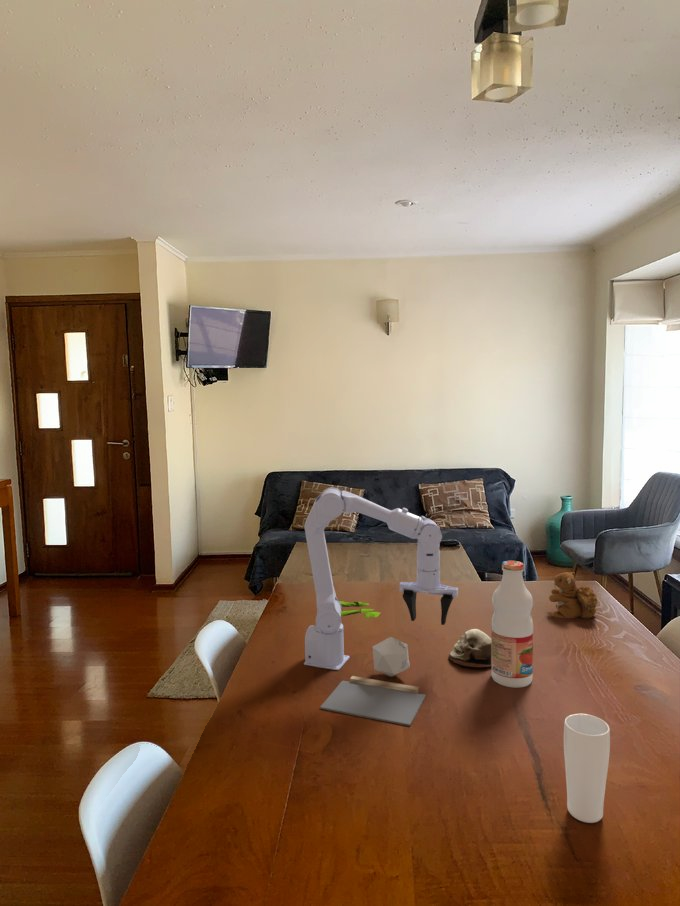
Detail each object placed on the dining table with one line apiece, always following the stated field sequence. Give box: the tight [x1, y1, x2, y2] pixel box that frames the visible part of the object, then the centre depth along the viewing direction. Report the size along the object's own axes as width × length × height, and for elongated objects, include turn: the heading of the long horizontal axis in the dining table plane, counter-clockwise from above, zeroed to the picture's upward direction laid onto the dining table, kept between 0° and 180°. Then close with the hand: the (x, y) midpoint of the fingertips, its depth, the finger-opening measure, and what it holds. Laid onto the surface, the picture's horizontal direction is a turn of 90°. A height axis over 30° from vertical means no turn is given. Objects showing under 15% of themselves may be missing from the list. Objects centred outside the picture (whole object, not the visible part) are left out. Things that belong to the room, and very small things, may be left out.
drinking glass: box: [563, 713, 611, 824], centre depth 96 cm, size 7×7×15 cm
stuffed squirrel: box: [548, 571, 598, 619], centre depth 181 cm, size 10×14×13 cm
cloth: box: [339, 600, 381, 619], centre depth 191 cm, size 20×22×2 cm
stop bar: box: [349, 675, 419, 694], centre depth 140 cm, size 16×1×1 cm, turn 68°
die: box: [372, 636, 411, 678], centre depth 144 cm, size 8×9×10 cm
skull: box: [448, 628, 491, 668], centre depth 153 cm, size 12×10×10 cm
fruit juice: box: [490, 560, 534, 689], centre depth 141 cm, size 9×9×28 cm
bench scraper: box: [319, 680, 426, 727], centre depth 133 cm, size 20×13×1 cm, turn 68°
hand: (428, 621), depth 152 cm, fingers open, 7 cm apart
